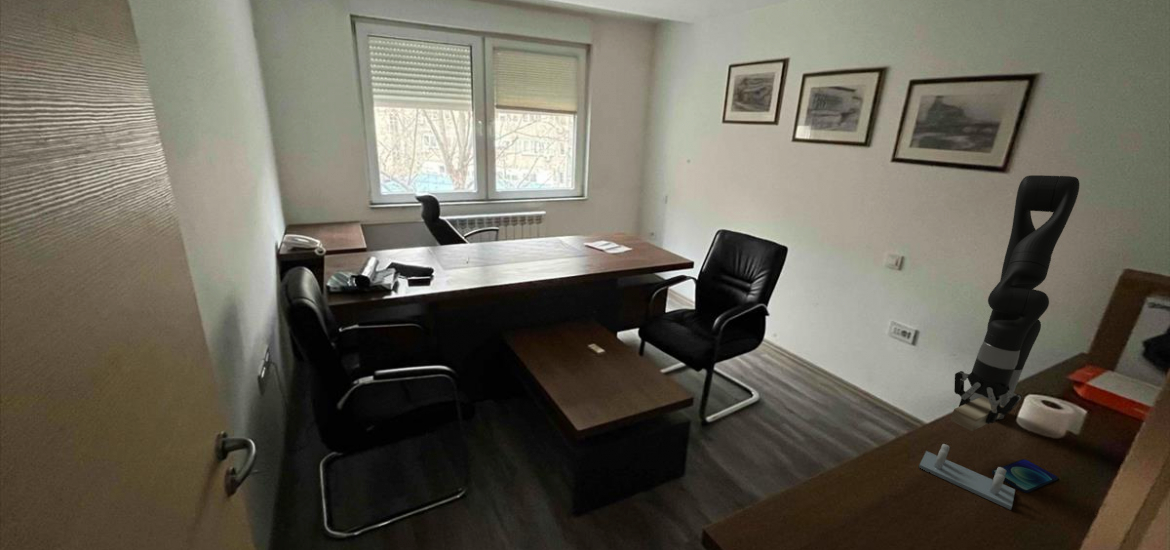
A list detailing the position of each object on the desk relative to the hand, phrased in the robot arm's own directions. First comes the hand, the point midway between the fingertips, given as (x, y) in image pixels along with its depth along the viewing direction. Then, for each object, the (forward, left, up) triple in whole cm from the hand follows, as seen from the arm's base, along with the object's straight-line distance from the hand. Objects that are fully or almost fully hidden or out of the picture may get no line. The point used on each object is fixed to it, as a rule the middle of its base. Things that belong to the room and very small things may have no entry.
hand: (975, 416), depth 121 cm
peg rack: (+14, -3, -11) cm, 18 cm away
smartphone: (+4, +12, -12) cm, 17 cm away
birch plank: (0, 0, -1) cm, 1 cm away
